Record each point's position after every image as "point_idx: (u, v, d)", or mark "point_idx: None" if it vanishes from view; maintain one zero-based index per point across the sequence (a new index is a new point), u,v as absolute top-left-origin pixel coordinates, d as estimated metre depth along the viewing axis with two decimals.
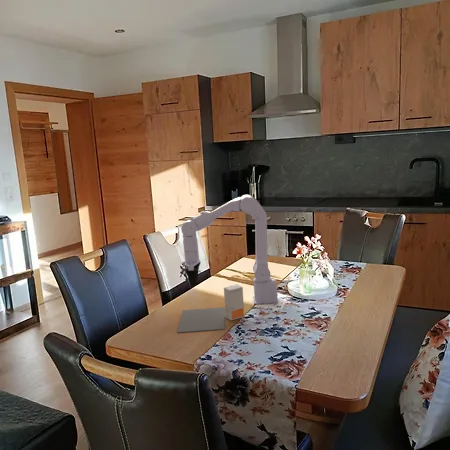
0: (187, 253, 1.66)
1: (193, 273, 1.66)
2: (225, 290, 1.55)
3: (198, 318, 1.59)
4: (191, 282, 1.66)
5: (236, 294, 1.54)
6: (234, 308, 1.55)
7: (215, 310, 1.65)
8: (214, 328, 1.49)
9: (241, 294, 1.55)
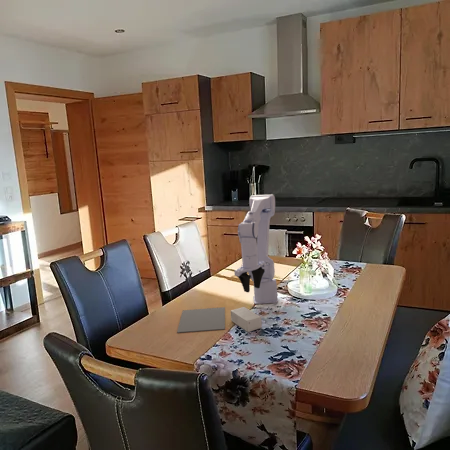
0: (242, 257, 1.53)
1: None
2: (246, 324, 1.45)
3: (198, 318, 1.59)
4: (244, 288, 1.54)
5: None
6: None
7: (215, 310, 1.65)
8: (214, 328, 1.49)
9: None
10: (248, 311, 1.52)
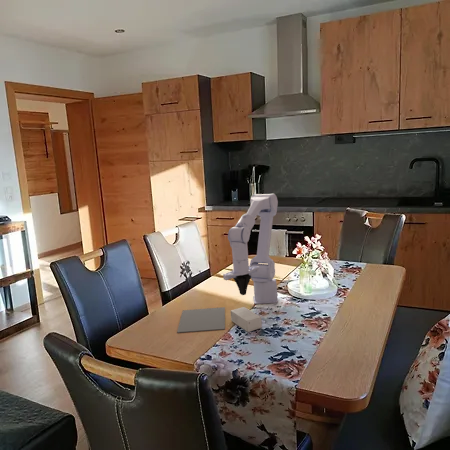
0: (233, 261, 1.54)
1: None
2: (246, 324, 1.45)
3: (198, 318, 1.59)
4: (240, 290, 1.56)
5: None
6: None
7: (215, 310, 1.65)
8: (214, 328, 1.49)
9: None
10: (248, 311, 1.52)
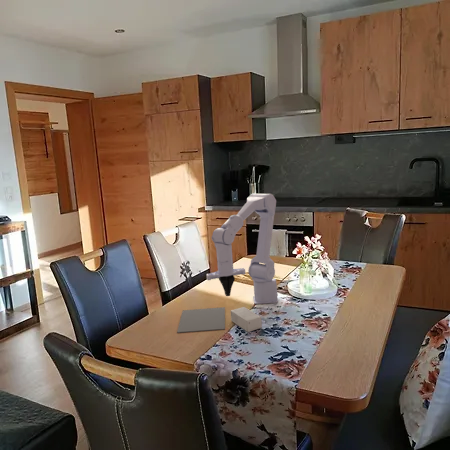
0: None
1: None
2: (246, 324, 1.45)
3: (198, 318, 1.59)
4: (224, 291, 1.56)
5: None
6: None
7: (215, 310, 1.65)
8: (214, 328, 1.49)
9: None
10: (248, 311, 1.52)
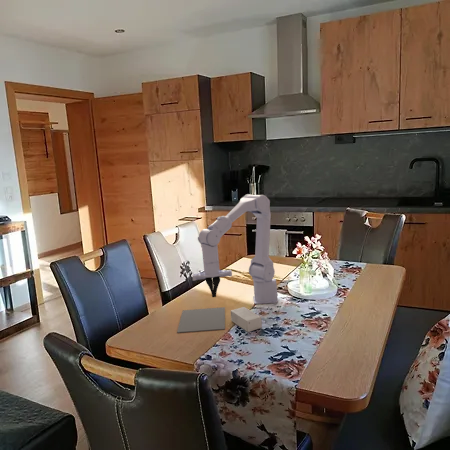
0: None
1: None
2: (246, 324, 1.45)
3: (198, 318, 1.59)
4: None
5: None
6: None
7: (215, 310, 1.65)
8: (214, 328, 1.49)
9: None
10: (248, 311, 1.52)
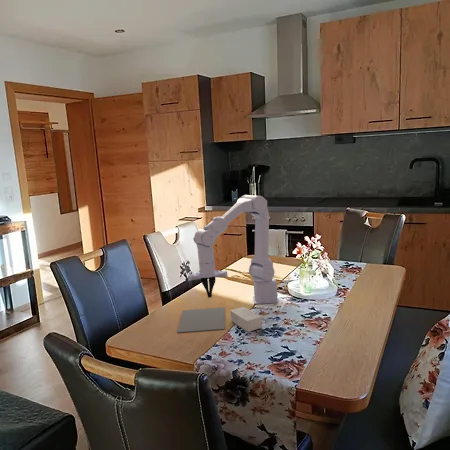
0: None
1: None
2: (246, 324, 1.45)
3: (198, 318, 1.59)
4: None
5: None
6: None
7: (215, 310, 1.65)
8: (214, 328, 1.49)
9: None
10: (248, 311, 1.52)
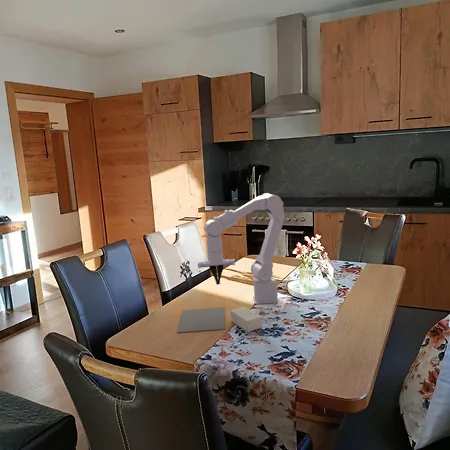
0: None
1: None
2: (246, 324, 1.45)
3: (198, 318, 1.59)
4: None
5: None
6: None
7: (215, 310, 1.65)
8: (214, 328, 1.49)
9: None
10: (248, 311, 1.52)
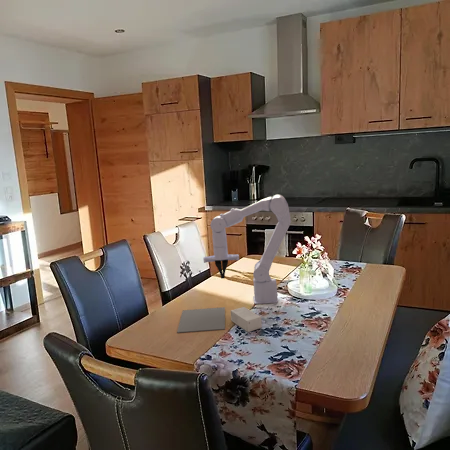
0: None
1: None
2: (246, 324, 1.45)
3: (198, 318, 1.59)
4: None
5: None
6: None
7: (215, 310, 1.65)
8: (214, 328, 1.49)
9: None
10: (248, 311, 1.52)
